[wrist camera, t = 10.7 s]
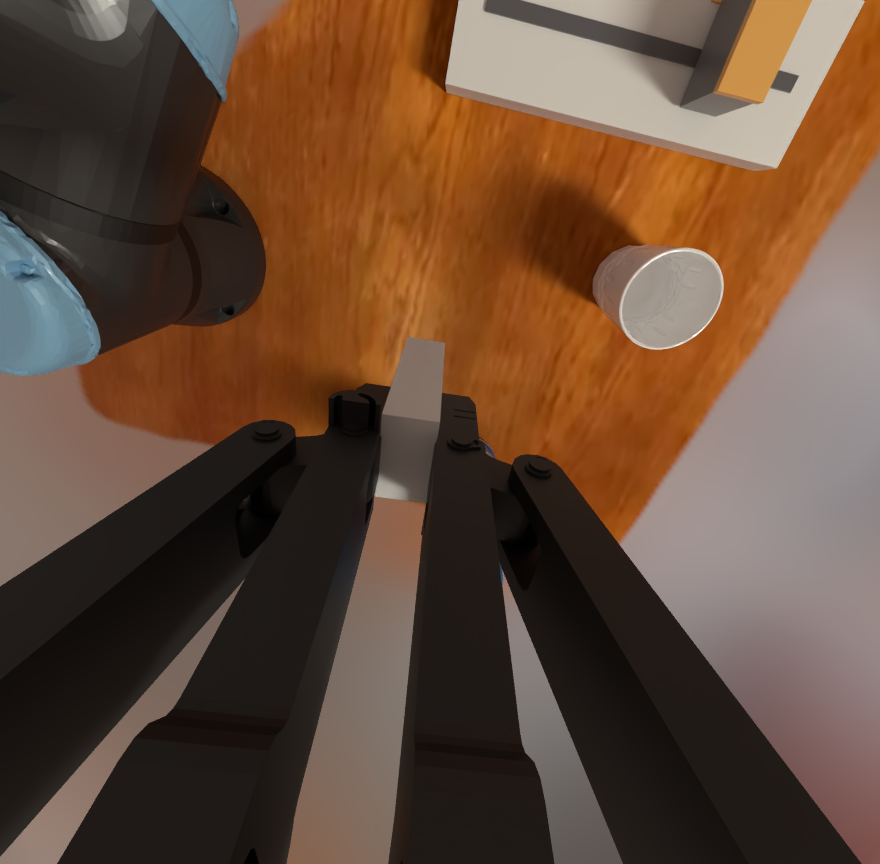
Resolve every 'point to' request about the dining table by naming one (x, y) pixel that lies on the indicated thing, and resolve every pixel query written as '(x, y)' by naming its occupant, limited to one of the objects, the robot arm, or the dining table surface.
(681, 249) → the white cup
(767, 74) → the fader knob
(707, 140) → the dimmer console
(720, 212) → the dining table surface
